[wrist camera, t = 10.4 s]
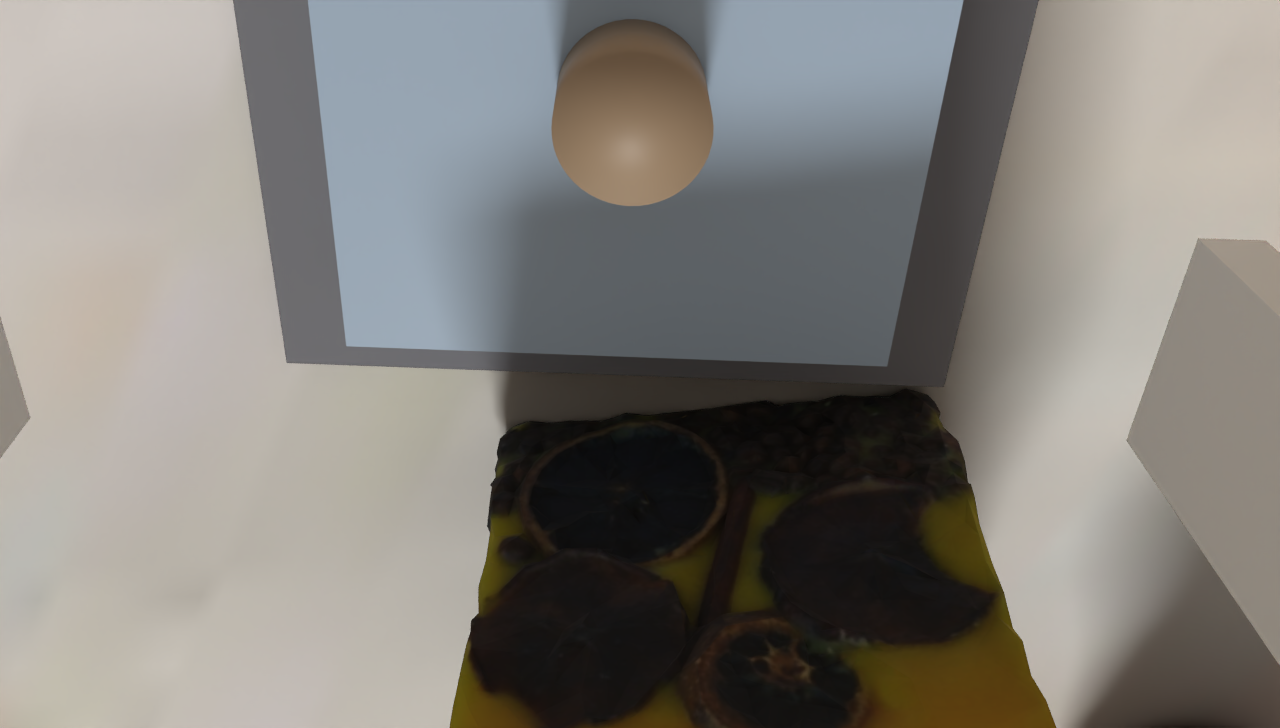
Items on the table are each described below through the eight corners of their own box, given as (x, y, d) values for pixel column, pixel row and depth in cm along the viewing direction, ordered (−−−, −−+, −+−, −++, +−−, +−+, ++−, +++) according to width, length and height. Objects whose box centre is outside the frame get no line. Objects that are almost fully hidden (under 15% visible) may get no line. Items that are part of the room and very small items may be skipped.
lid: (371, 282, 22) (326, 396, 19) (317, -295, 17) (241, -277, 13) (863, 301, 23) (905, 417, 19) (968, -257, 17) (1051, -231, 14)
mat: (294, 347, 24) (286, 362, 23) (179, -462, 16) (164, -465, 16) (937, 371, 24) (943, 387, 24) (1121, -402, 17) (1137, -403, 16)
